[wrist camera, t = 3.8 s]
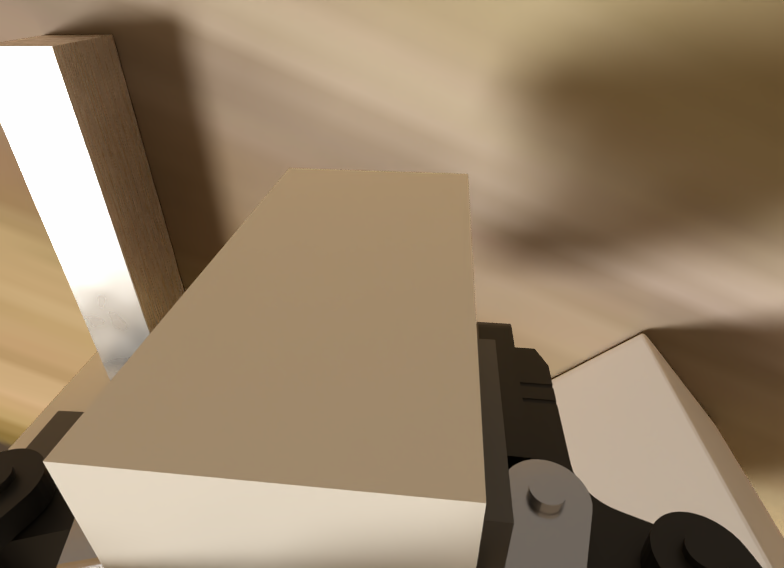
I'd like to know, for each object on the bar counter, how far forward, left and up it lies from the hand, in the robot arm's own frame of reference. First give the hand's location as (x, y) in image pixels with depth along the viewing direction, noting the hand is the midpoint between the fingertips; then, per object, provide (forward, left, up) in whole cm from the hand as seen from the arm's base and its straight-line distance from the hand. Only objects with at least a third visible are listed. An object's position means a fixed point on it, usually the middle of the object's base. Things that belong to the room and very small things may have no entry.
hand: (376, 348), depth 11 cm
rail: (+10, +3, -8) cm, 14 cm away
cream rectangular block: (0, 0, -2) cm, 2 cm away
